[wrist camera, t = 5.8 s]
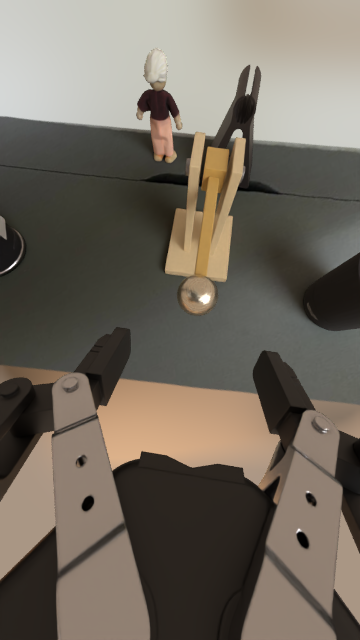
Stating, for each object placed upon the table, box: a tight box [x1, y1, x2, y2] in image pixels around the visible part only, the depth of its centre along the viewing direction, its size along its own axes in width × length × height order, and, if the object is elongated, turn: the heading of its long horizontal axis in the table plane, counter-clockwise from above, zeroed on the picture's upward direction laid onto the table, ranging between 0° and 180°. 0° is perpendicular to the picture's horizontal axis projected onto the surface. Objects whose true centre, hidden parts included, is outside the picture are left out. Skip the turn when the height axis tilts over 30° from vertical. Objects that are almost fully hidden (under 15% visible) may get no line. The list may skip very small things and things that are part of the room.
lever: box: [177, 147, 229, 316], centre depth 18 cm, size 17×4×4 cm, turn 171°
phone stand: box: [201, 65, 261, 188], centre depth 30 cm, size 9×6×12 cm, turn 78°
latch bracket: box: [165, 132, 246, 282], centre depth 25 cm, size 12×10×15 cm
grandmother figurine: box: [136, 48, 182, 163], centre depth 30 cm, size 8×4×13 cm, turn 87°
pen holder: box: [304, 253, 360, 331], centre depth 25 cm, size 9×9×10 cm
